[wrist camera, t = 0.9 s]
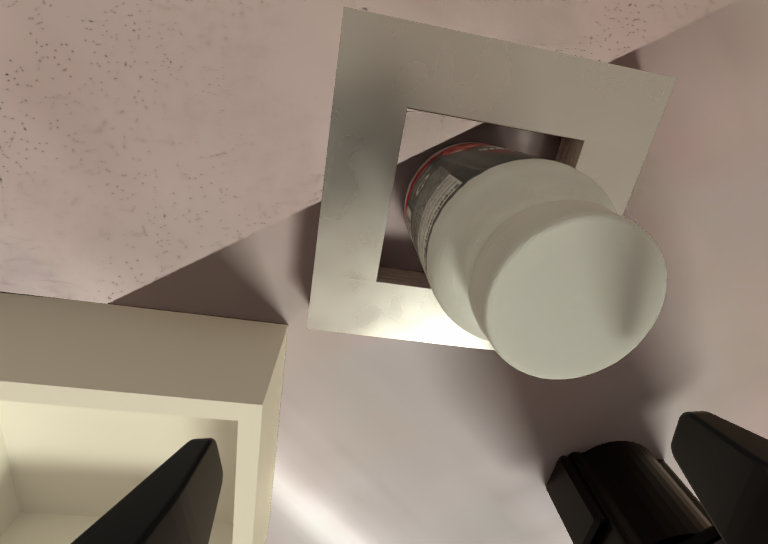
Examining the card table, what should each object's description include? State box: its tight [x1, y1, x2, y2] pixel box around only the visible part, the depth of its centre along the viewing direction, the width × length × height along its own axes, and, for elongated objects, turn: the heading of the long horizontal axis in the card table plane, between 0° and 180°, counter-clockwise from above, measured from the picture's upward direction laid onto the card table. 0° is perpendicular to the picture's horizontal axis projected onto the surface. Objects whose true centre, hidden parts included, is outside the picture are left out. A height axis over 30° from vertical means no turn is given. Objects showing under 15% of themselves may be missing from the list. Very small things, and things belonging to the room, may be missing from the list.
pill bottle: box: [404, 142, 667, 379], centre depth 13 cm, size 5×5×10 cm
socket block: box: [307, 7, 677, 350], centre depth 17 cm, size 12×12×2 cm
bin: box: [0, 292, 288, 544], centre depth 18 cm, size 14×14×6 cm
